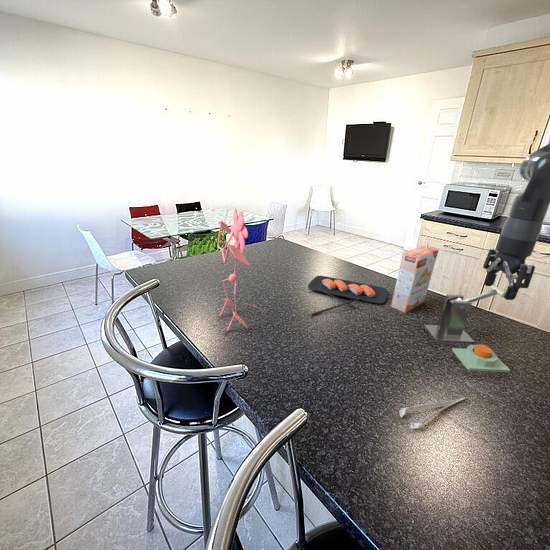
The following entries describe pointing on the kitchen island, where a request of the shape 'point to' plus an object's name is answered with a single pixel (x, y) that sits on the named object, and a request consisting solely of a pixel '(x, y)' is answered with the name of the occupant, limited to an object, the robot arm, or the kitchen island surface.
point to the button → (482, 351)
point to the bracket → (452, 321)
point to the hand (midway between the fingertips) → (497, 292)
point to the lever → (482, 295)
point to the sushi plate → (348, 291)
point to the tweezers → (427, 406)
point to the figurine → (239, 234)
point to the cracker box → (414, 278)
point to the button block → (479, 360)
